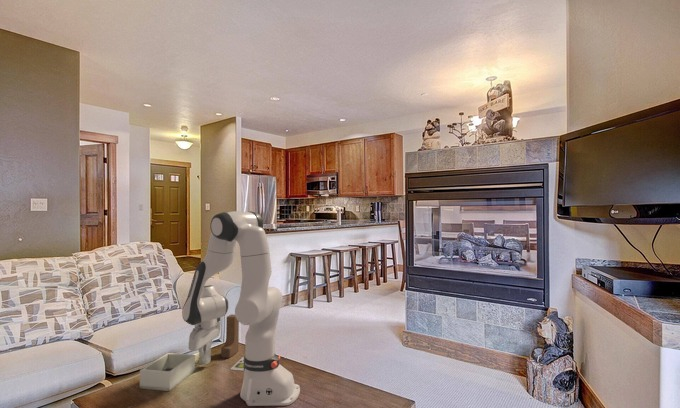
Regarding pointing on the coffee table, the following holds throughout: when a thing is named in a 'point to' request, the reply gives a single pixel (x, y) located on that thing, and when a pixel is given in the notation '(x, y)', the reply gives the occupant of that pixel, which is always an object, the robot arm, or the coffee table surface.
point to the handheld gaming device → (239, 365)
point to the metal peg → (206, 354)
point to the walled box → (167, 371)
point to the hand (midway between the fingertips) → (205, 353)
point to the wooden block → (231, 337)
